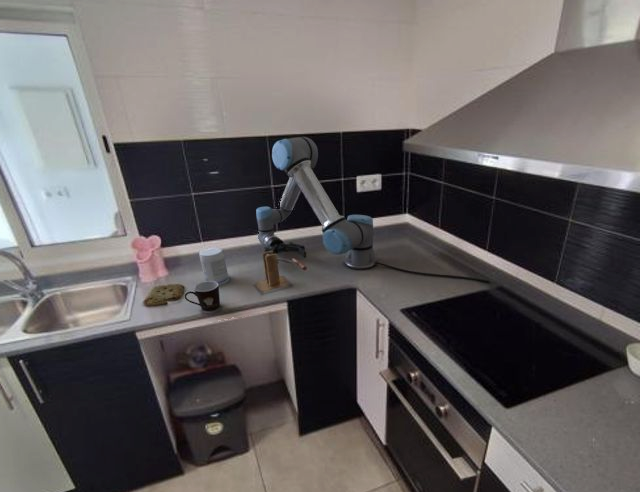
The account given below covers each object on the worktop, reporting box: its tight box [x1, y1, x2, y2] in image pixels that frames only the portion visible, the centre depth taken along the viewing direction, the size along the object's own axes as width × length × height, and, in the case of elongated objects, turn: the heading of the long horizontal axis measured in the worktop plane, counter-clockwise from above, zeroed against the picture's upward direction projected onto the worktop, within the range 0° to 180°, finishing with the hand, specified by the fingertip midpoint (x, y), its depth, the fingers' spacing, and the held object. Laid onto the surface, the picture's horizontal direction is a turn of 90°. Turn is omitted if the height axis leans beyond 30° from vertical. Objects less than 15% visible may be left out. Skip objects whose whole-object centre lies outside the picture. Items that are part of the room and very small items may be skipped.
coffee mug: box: [184, 280, 221, 312], centre depth 142 cm, size 12×9×10 cm
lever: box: [265, 254, 307, 271], centre depth 160 cm, size 16×11×2 cm
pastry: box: [142, 283, 185, 307], centre depth 153 cm, size 17×17×3 cm
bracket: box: [254, 251, 293, 292], centre depth 158 cm, size 13×10×15 cm
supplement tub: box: [198, 247, 230, 286], centre depth 162 cm, size 10×10×15 cm
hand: (291, 257), depth 171 cm, fingers open, 13 cm apart
